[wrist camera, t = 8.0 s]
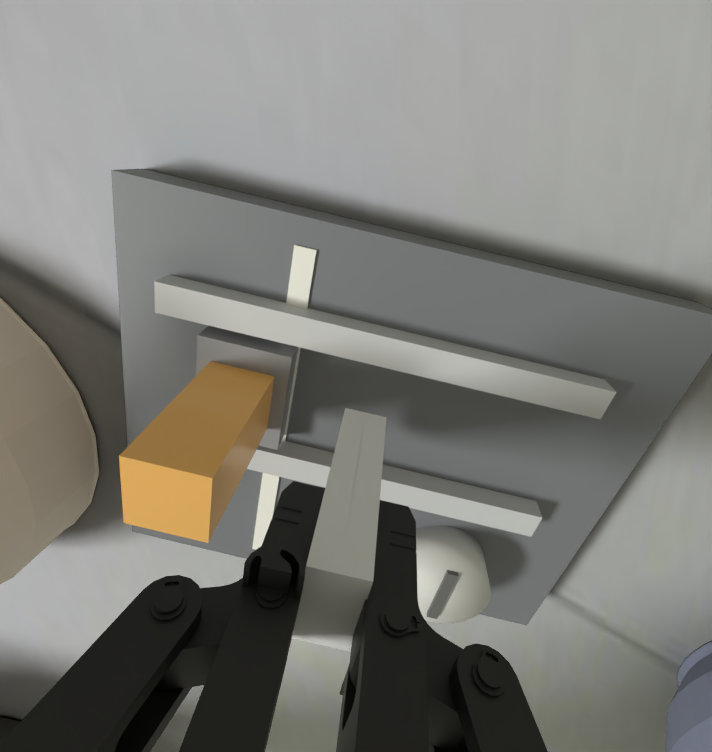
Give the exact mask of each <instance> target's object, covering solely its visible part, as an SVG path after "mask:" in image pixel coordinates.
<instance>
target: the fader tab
mask: <svg viewBox="0 0 712 752" xmlns="http://www.w3.org/2000/svg"><path fill="white" fill-rule="evenodd" d="M297 353H298V347H296V346H292V345H288V344H284V343H279V342H275V341H271V340H267V339H263V338H259V337H254V336H250V335H246V334H242V333H238V332H234V331H229V330H225V329H221V328H217V327H213V326H208V327H206V328H205V329H204V330H203V331H202V332H201V333H199V334H198V335H197V359H196V377H195V378H194V379H193V380H192V381H191V382H190V383H189V384H188V385H187V386H186V387H185V388H184V389H183V390H182V391H181V392H180V393H179V394H178V395H177V396H176V397H175V398H174V399H173V400H172V402H171V403H170V404H169V405H168V406H167V407H166V408H165V409H164V410H163V411H162V412H161V413H160V414H159V415H158V416H157V417H156V418H155V419H154V420H153V421H152V422H151V423H150V424H149V425H148V426H147V427H146V428H145V429H144V430H143V431H142V432H141V434H140V435H139V436H138V437H137V438H136V439H135V440H134V441H133V442H132V443H131V444H130V445H129V446H128V447H127V448H126V449H125V450H124V451H123V452H122V453H121V454H120V455H119V465H120V479H121V493H122V507H123V521H124V523H126V524H130V525H134V526H139V527H143V528H147V529H151V530H155V531H160V532H164V533H168V534H172V535H177V536H181V537H185V538H189V539H193V540H198V541H202V542H206V543H209V541H210V539H211V537H212V535H213V533H214V531H215V529H216V527H217V525H218V523H219V521H220V520H221V518H222V516H223V514H224V512H225V510H226V508H227V506H228V504H229V502H230V500H231V498H232V496H233V494H234V492H235V490H236V489H237V487H238V485H239V483H240V481H241V479H242V477H243V475H244V473H245V471H246V469H247V467H248V465H249V463H250V461H251V459H252V457H253V456H254V454H255V452H256V450H257V448H258V446H263V447H267V448H271V449H275V450H278V448H279V446H280V443H281V441H282V439H283V437H284V433H285V427H286V421H287V415H288V409H289V402H290V396H291V390H292V384H293V378H294V371H295V365H296V359H297Z"/></svg>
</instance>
